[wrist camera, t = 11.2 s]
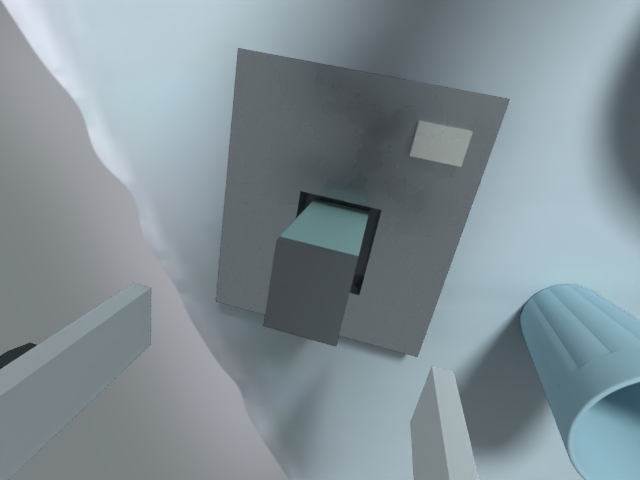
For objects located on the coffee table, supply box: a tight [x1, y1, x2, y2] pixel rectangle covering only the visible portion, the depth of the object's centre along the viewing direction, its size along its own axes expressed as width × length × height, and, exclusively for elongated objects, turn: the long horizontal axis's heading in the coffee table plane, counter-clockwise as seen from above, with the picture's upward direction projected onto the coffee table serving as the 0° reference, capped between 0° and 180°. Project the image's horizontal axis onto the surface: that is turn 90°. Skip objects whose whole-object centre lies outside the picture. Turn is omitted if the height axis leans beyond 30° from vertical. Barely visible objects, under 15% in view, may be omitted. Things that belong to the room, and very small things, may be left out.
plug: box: [263, 199, 369, 346], centre depth 22 cm, size 5×4×9 cm
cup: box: [520, 284, 640, 480], centre depth 20 cm, size 8×8×10 cm
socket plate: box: [216, 48, 510, 357], centre depth 24 cm, size 18×16×3 cm
